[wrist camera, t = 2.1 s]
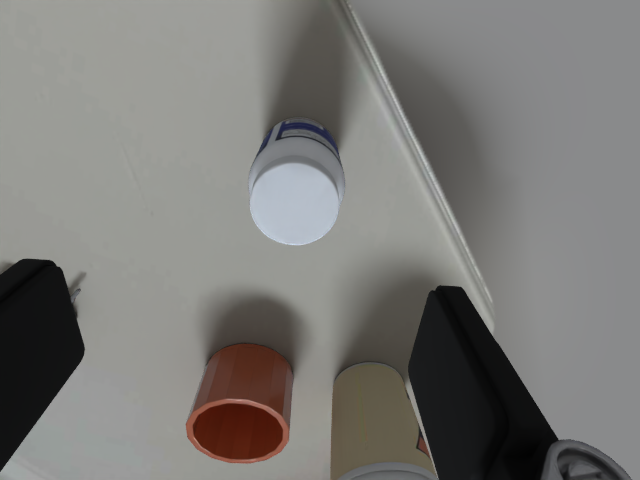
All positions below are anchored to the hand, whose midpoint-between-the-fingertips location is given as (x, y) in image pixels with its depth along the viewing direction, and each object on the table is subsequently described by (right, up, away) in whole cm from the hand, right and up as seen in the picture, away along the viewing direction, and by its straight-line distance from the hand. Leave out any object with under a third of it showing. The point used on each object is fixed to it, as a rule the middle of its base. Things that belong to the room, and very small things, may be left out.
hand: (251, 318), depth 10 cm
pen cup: (-6, -12, +29) cm, 32 cm away
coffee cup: (+7, -14, +30) cm, 34 cm away
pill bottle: (0, +9, +18) cm, 20 cm away
